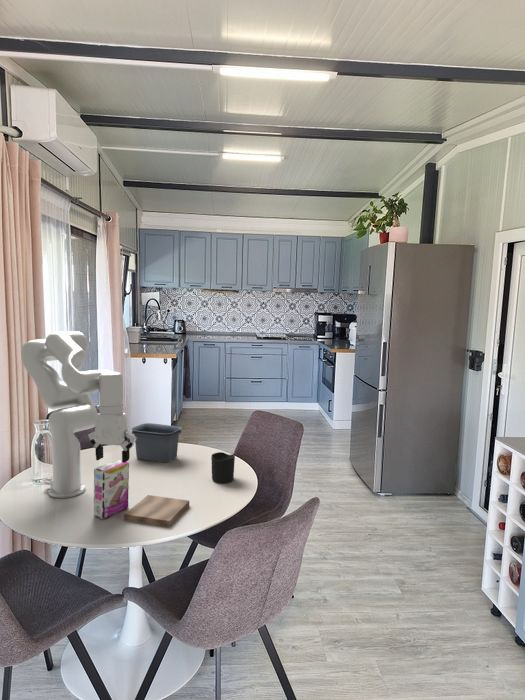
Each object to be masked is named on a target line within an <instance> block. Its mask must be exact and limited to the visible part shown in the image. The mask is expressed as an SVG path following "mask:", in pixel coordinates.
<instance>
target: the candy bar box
mask: <svg viewBox="0 0 525 700" xmlns="http://www.w3.org/2000/svg"><path fill="white" fill-rule="evenodd" d="M129 474H130V462H128V461H127V462H125V463H123V462H122V459H119V460H116V461H112V462H109V463H106V464H104V465H101V466H98V467H94V468H93V517H96V518H99V519H101V520H105V519H107V518H109V517H112V516H114V515H116V514H118V513H120V512H121V511H125V510H126V509H129V489H130V487H129V486H130V485H129V482H130V481H129V477H130V475H129Z"/></svg>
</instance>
